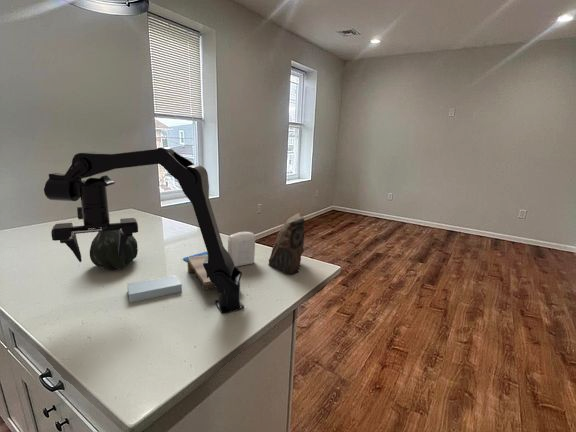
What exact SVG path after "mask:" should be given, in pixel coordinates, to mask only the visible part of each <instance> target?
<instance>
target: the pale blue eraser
mask: <svg viewBox="0 0 576 432" xmlns="http://www.w3.org/2000/svg"><path fill="white" fill-rule="evenodd" d="M182 284H183V283H182V282H181V280H180V278H179V277H178V275H177V274H173V275H167V276H162V277H161V276H160V277H157V278H151V279H145V280H140V281H133V282H129V283H127V284H126V285H127V286H126V287H127V293H128V299H129V303H134V302H138V301H144V300H149V299H154V298H159V297H162V296H163V297H164V296H167V295H173V294H178V293H182V292H183V289H182V287H183V285H182Z"/></svg>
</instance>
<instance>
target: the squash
mask: <svg viewBox="0 0 576 432" xmlns="http://www.w3.org/2000/svg"><path fill="white" fill-rule="evenodd" d="M104 228H107V227H104ZM118 247H119V230H111V231H100V232H97V234H96V236H94V238H93V240H92V241H91V244H90V248H89V258H90V261H91V262H92V264H93V265H95V266H96V267H98V268H103V269H105V270H108V271H109V270H110V271H111V270H113V269H116V270H120V269H123V268H124V266H125V265H129V264H131V263H133V261H134V260H135V259H136V258H137V256H138V250H139V249H138V247H139V246H138V241H137V240H136V238H135V236H134V234H133V235H132V236H129V237H128V239H127V241H126V243H125V245H124V248H123V251H122V254H121V257H119V252H118Z"/></svg>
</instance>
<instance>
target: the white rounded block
mask: <svg viewBox="0 0 576 432" xmlns="http://www.w3.org/2000/svg"><path fill="white" fill-rule="evenodd" d="M255 248H256V235H255V233H253V232H252V231H239V232H236V233H232V234H231V235H229V236H228V238H227V252H228V253H229V254H230V256H231V258H232V260H233V262H234V266H235V267H236V268H237V267H241V266H245V265H252V264H253V263H255V255H256V254H255V253H256V251H255V250H256V249H255Z"/></svg>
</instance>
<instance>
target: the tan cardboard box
mask: <svg viewBox="0 0 576 432" xmlns="http://www.w3.org/2000/svg"><path fill="white" fill-rule="evenodd" d="M186 257H187V262H186V263H187V272H188V274H193V273H194V277H195V278H198V279H199V280H200V281H201V283H202V285H201V289H202V290H208V289H214V288H216V286H215V284H214V283H212V282H211V281H210V279H209V277H208V278H207V273H206V270H205V268H204V266H203V263H204V261H205V260H206V258H207V257H208V254H207V255H200V256H194V257H189V256H186ZM239 284H240V285H241V282H240V283H239Z"/></svg>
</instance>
